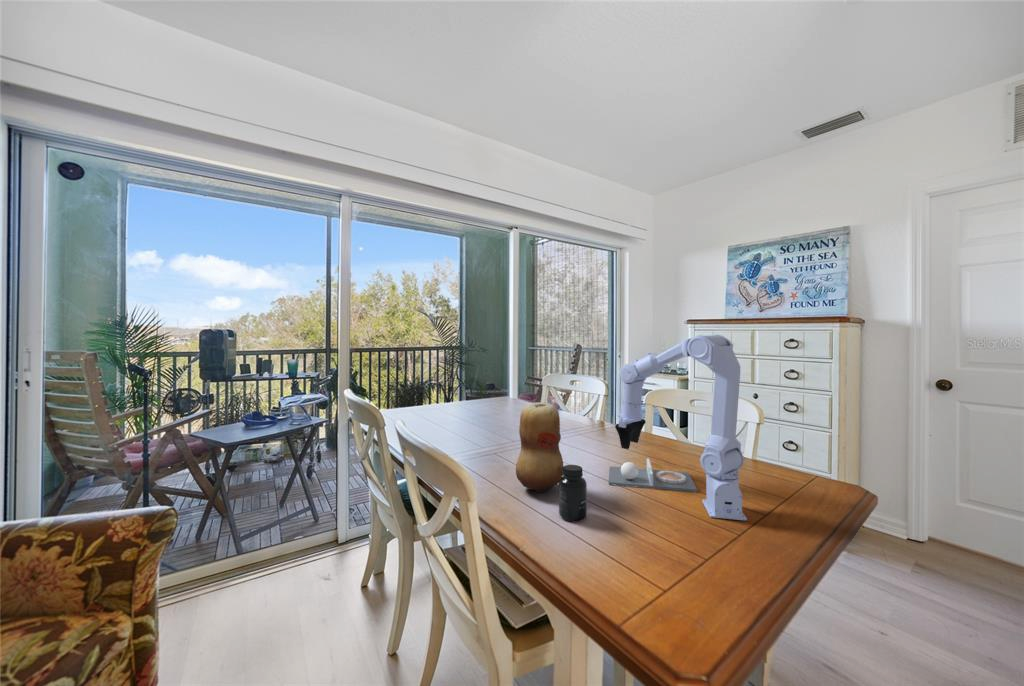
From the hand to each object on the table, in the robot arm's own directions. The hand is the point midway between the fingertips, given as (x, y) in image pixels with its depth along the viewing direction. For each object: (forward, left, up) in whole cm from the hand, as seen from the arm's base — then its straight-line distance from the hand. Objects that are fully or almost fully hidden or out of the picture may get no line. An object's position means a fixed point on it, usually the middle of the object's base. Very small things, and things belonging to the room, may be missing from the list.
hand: (629, 445), depth 120 cm
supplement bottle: (-31, +14, -10) cm, 35 cm away
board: (-2, -6, -10) cm, 11 cm away
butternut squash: (-17, +25, -10) cm, 32 cm away
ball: (-5, 0, -7) cm, 8 cm away
